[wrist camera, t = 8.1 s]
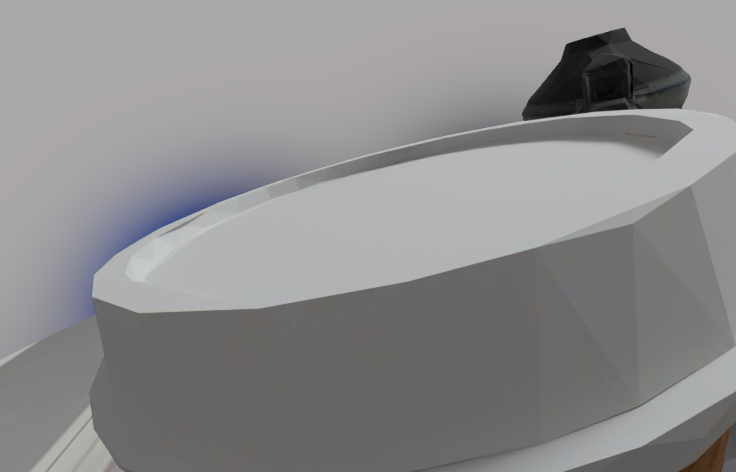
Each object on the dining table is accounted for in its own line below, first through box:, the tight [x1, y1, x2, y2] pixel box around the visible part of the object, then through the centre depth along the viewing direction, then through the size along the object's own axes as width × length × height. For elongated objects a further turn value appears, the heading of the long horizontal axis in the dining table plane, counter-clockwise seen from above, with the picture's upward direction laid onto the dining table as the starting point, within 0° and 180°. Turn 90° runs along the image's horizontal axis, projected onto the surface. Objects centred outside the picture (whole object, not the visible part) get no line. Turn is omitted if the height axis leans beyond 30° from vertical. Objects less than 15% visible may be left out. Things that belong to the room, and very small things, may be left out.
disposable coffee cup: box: [89, 109, 736, 472], centre depth 8 cm, size 10×10×12 cm
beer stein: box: [522, 28, 691, 121], centre depth 36 cm, size 16×19×25 cm
